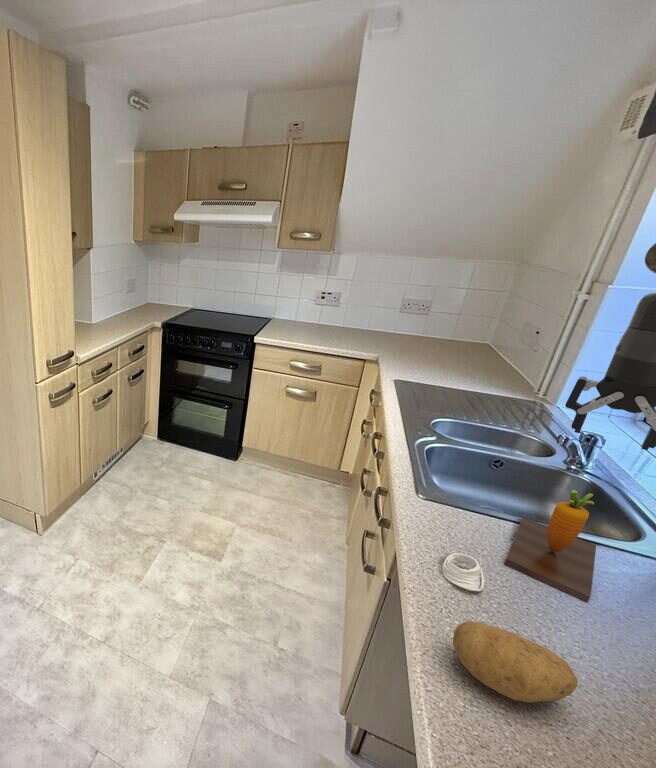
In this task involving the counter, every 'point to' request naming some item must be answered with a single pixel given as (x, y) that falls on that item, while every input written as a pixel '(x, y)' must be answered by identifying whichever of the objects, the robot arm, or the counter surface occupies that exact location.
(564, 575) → the cutting board
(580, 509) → the carrot
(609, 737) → the counter surface
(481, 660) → the potato
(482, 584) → the white string coil
